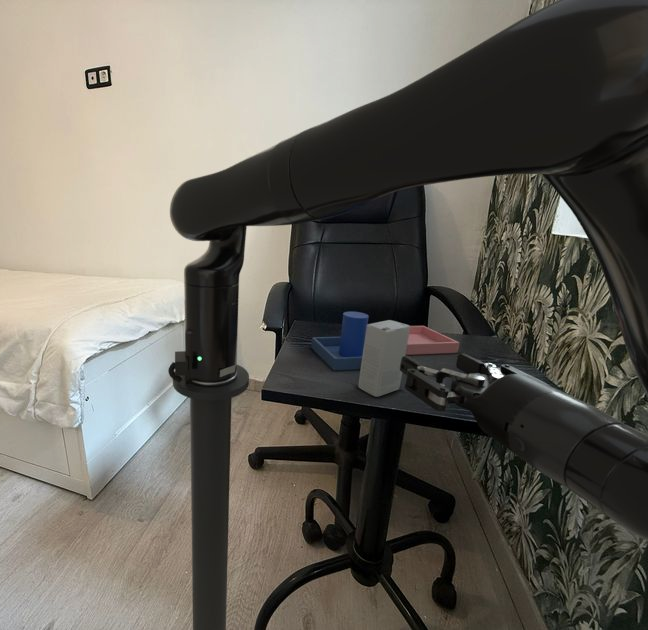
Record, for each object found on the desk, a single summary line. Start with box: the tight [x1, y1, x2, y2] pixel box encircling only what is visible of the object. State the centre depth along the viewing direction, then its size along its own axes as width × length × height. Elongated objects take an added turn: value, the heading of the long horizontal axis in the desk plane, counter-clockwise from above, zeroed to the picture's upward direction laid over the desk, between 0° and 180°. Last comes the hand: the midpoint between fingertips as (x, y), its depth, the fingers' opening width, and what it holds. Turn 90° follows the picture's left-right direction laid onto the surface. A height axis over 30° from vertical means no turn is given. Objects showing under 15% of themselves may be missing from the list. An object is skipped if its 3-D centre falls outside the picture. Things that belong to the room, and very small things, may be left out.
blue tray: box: [310, 336, 362, 371], centre depth 76 cm, size 13×12×2 cm
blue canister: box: [339, 311, 370, 357], centre depth 75 cm, size 5×5×9 cm
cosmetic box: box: [357, 319, 411, 398], centre depth 61 cm, size 6×4×12 cm
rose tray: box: [405, 325, 460, 356], centre depth 85 cm, size 13×12×2 cm
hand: (431, 361), depth 49 cm, fingers open, 8 cm apart
